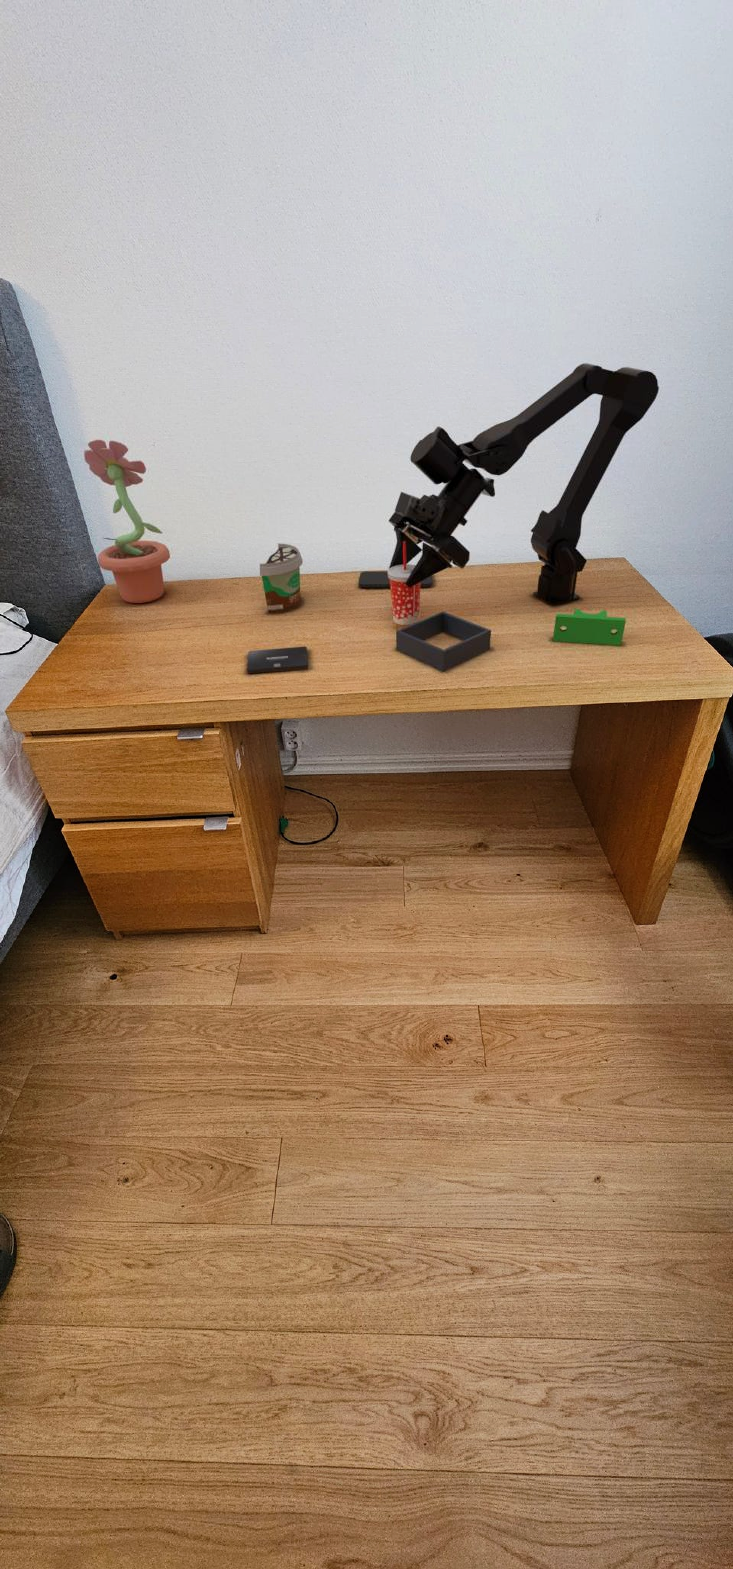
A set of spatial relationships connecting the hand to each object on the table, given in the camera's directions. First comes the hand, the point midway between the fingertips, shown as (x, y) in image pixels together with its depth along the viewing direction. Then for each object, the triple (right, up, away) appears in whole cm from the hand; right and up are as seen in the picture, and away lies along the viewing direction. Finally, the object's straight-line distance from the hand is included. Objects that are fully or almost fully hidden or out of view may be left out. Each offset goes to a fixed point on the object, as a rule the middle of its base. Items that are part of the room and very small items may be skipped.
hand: (398, 580), depth 120 cm
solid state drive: (-20, -15, -3) cm, 25 cm away
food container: (-20, 0, +17) cm, 26 cm away
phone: (+1, +6, +23) cm, 24 cm away
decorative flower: (-51, +3, +23) cm, 56 cm away
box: (+7, -12, -2) cm, 15 cm away
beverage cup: (+2, -6, +5) cm, 8 cm away
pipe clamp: (+32, -11, -1) cm, 34 cm away
